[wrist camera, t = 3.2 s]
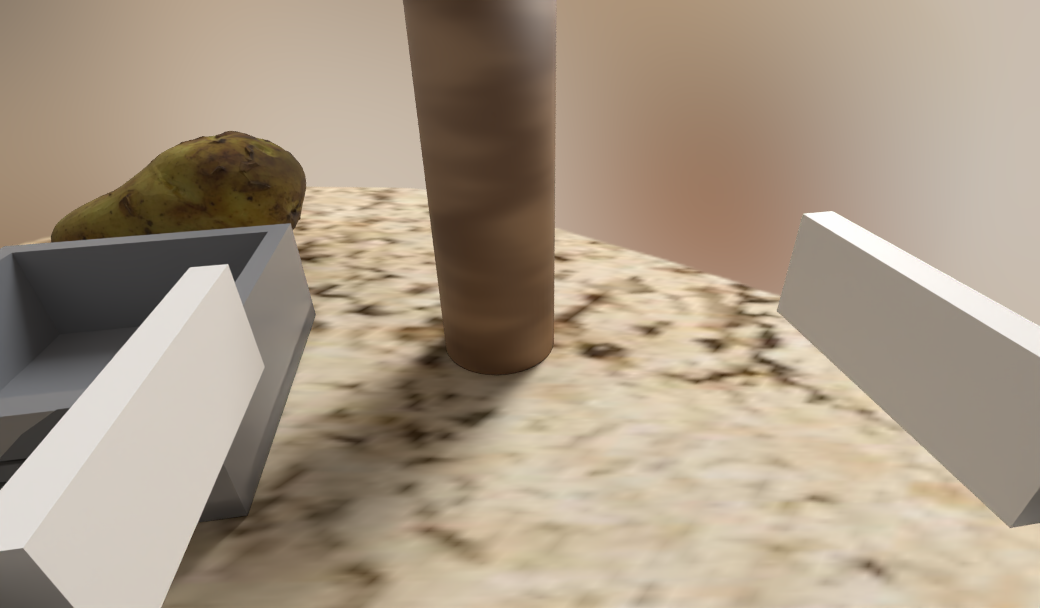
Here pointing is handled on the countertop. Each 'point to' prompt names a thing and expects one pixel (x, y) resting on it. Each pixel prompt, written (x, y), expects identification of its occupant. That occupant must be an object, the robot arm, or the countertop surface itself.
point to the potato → (197, 192)
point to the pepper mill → (489, 172)
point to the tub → (125, 306)
